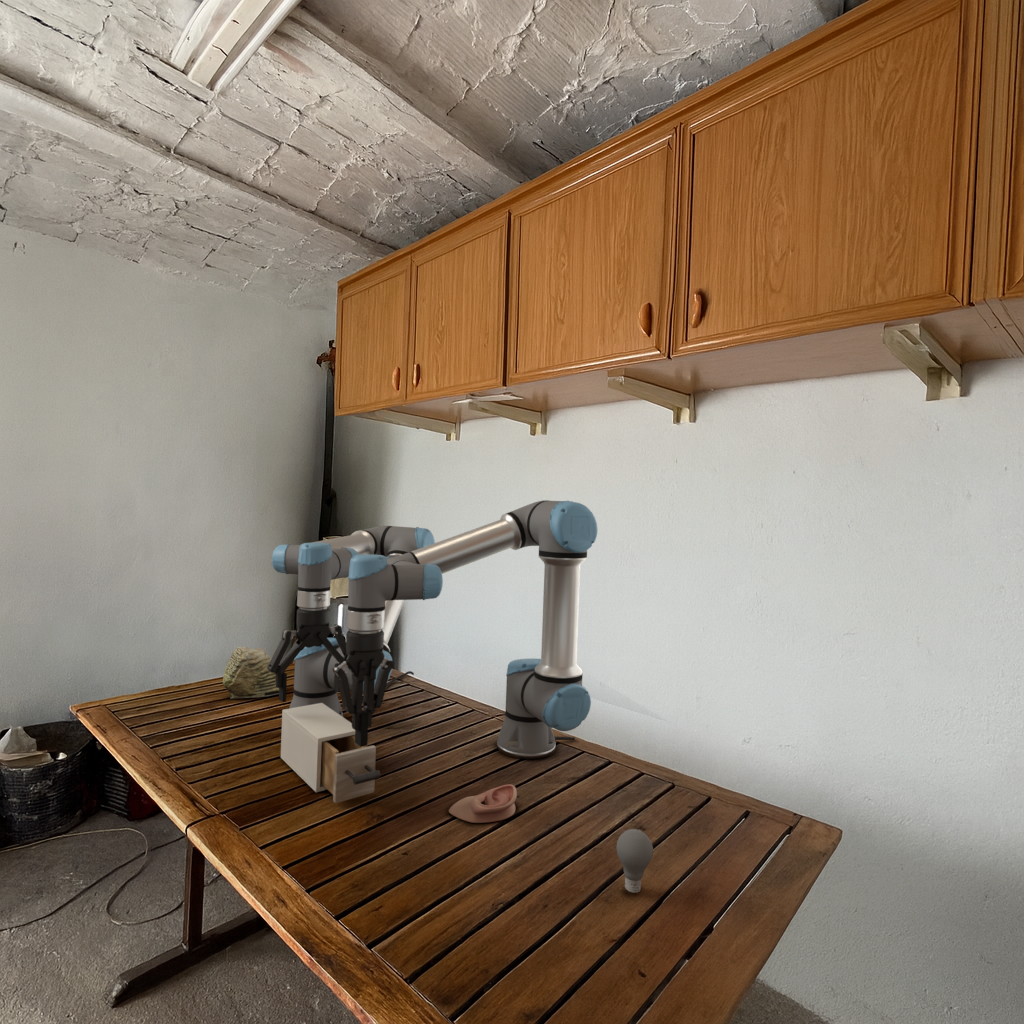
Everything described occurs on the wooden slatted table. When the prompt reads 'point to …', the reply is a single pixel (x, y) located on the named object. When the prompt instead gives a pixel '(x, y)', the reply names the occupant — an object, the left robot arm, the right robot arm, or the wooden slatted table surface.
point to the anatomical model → (487, 805)
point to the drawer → (348, 768)
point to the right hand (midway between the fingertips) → (361, 743)
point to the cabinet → (310, 739)
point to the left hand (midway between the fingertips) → (310, 695)
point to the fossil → (249, 674)
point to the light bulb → (634, 857)
